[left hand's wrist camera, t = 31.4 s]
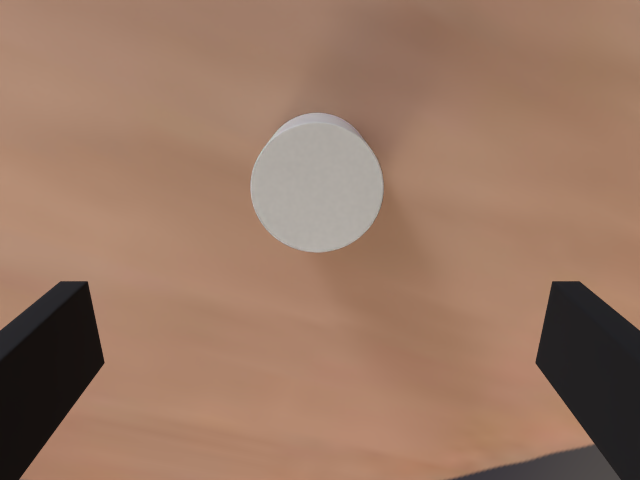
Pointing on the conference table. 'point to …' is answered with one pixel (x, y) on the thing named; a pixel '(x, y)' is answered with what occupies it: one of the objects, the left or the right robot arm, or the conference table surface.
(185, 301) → the conference table surface
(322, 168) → the canister
